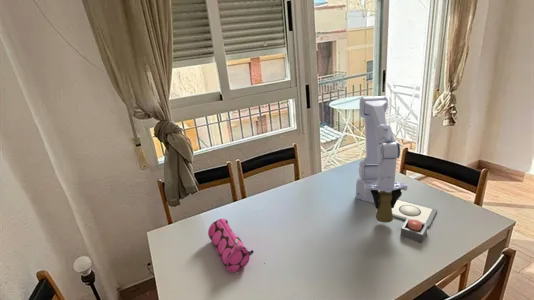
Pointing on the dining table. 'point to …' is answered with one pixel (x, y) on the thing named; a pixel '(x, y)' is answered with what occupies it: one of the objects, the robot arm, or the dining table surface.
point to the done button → (415, 225)
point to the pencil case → (228, 246)
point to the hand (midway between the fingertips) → (384, 206)
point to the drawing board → (413, 212)
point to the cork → (384, 207)
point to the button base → (413, 232)
